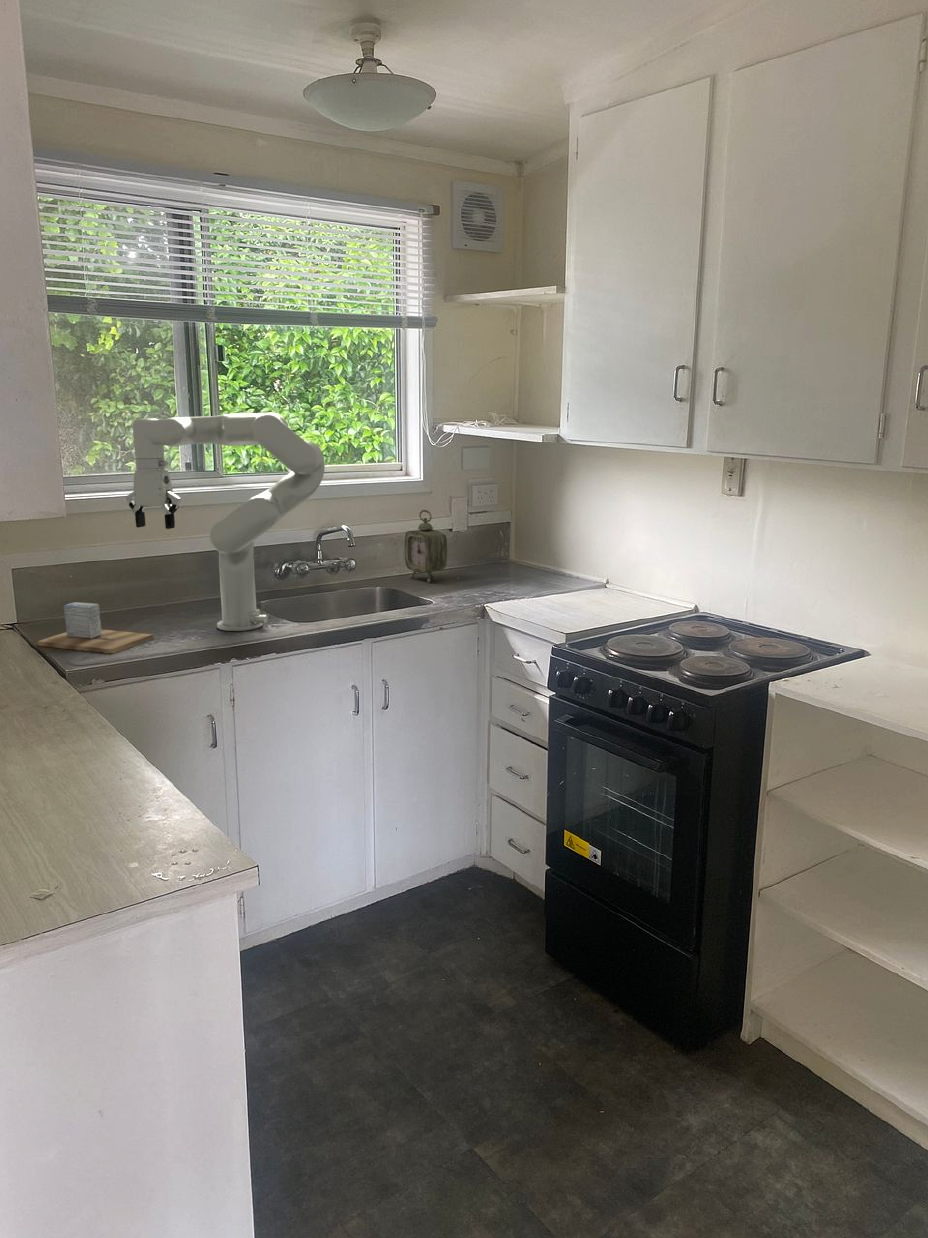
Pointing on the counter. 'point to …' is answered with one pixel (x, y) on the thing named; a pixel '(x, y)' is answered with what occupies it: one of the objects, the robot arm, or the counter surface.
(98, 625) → the medicine box
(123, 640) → the light brown wooden board
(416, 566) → the tabletop clock
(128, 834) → the counter surface
